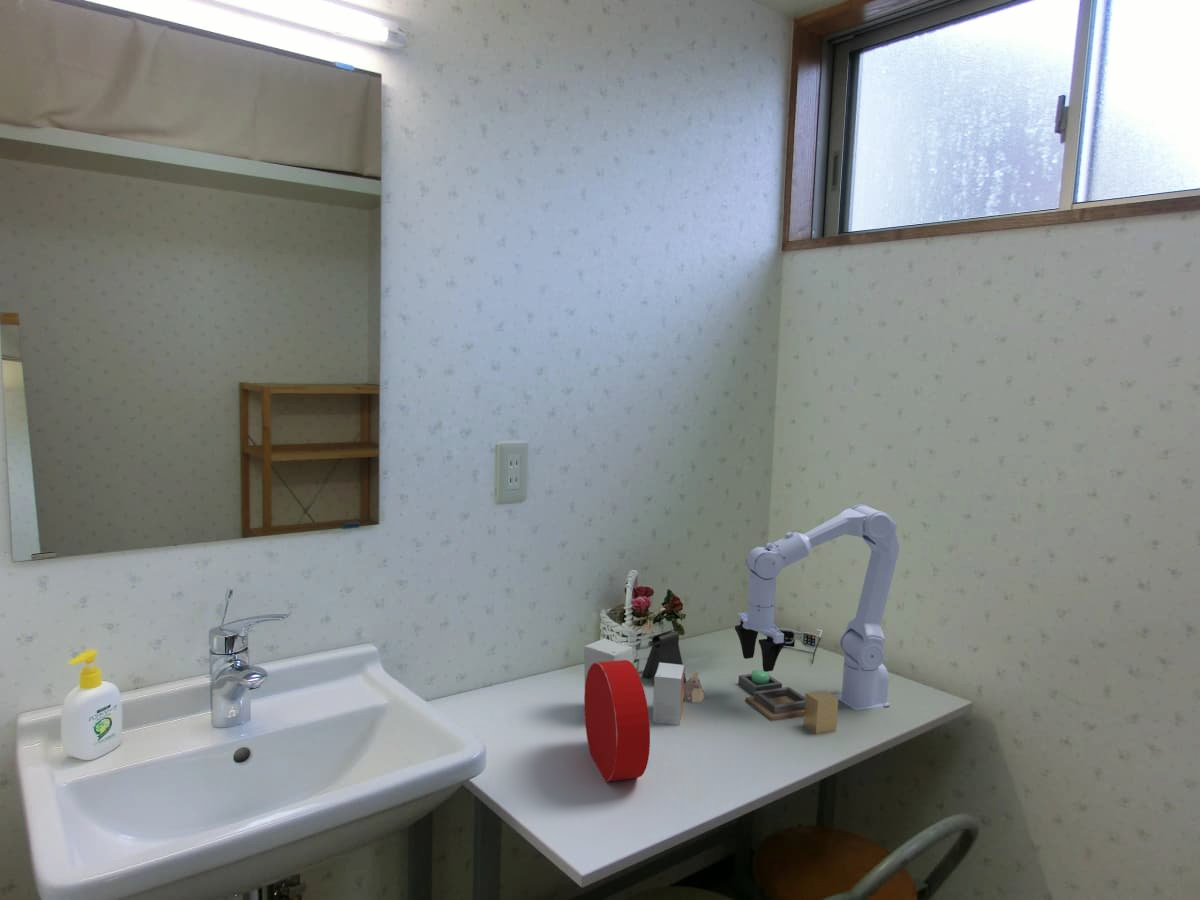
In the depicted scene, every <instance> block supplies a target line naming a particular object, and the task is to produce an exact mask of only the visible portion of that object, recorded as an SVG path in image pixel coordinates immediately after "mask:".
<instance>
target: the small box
mask: <svg viewBox="0 0 1200 900" xmlns="http://www.w3.org/2000/svg"><path fill="white" fill-rule="evenodd" d="M685 670H686V668H685V664H683V665H679V664H669V663H659V665H658V669H657V672H656V674H655V676H654V677H653V678H654V679H653V682H654V683H653V705H652V708H653V709H652V722H654V723H659V724H666V725H673V726H680V725H681V720H682V716H683V710H684V709H683V708H684V700H683V693H684V673H685Z"/></svg>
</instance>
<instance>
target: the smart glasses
mask: <svg viewBox="0 0 1200 900" xmlns="http://www.w3.org/2000/svg"><path fill="white" fill-rule="evenodd" d="M778 629H779V630H780V632H782V633H783V634H784V640H785V641H786V643H785V646H784V647H791V648H792V647H793V648H794V647H795V641H796V635H799V639H800V643H801V644H802V646H804V647H806V648H814V651H813V655H812V660H811V665H813V663H814V660H815V659H814V658H815V653H816V652H817V649H818V647H819V644H820V642H821V640H822V633H823V630H822V629H816V632H819V635H818V634H815V633H814V632H813V633H812V632H809V631H795V630H793V629H790V628H785V627H783V628H778ZM802 635H803V636H802ZM802 637H803V638H802ZM816 638H817V642H816Z"/></svg>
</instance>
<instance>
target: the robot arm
mask: <svg viewBox="0 0 1200 900" xmlns="http://www.w3.org/2000/svg"><path fill="white" fill-rule="evenodd" d="M896 531H897V523H896V522H895V521H894V519H893V518H892V517H891V516H890V515H889V514H888V513H886V512H884V511H880V510H877V509H875V508H872V507H870V506H869V505H866V504H862V503H861V504H856V505H853V506H852V507H851V508H850V507H849V508H846V509H844V510H843V511H842V512H840V513H839V514H838V515H836V516H834V517H833V518H831V519H829V520H827V521H825V522H823V523H822V524H819V525H818V526H816V527H814V528H813V529H810V530H809V531H807V532H805V533H800V532H798V531H795V532H791V531H788V532H786V533H785V534H784V535H785V536H784V537H782V538H780V539H778V540H776V541H774V542H772V543H771V542H767V543H765V546H757V547H755V548H753V549H752V550H750V553H748V554H747V557H746V558H745V564H746V567H747V568H748V570H749V574H748V575H749V576H748V590H747V607H746V608H747V611H746V612H740V613H737V622H738V623H739V625H735V626H734V631H736V634H737V637H738V638H739V642H740V646H741V651H742V656H743V658H744V659H745V660H747V659H753V658H754V655H755V651H756V642H757V638H758V635H759V633H760V634H761V635H763V636H765V637H766V638H762V639H758V644H759V646H760V649H761V656H762V659H761V660H762V670H763V671H765V672H768V673H769V672H772V671H774V669H775V665H776V663H777V660H778V657H779V655H780V653H781V651H782V650H783V649H784V647H786V646H785V643H786V641H785V640H784V634H783V633H782V632H780V630H779V629H780V628H778V626H777V625H776V624H775V623H774V622H775V605H776V585H777V583H776V582H777V581H776V580H777V579H776V578H777V577H778V575H780V573H781V571H782V570H783V569H784V568H786V567H788V566H790V565H792V564H794V563H796V562H798V561H801V560H803V559H805V558H807V557H808V556H810V553H811V550H812V548H815V547H817V546H820V545H822V544H825V543H827V542H830V541H832V540H835V539H837V538H839V537H842V536H843V535H847V536H848V535H849V536H854V537H859V538H860V537H861V538H862V539H863V540H864V541H865V543H866V544H867V546H868V547H869V549H870V551H871V552H870V555H869V560H868V565H867V568H866V572H865V576H864V581H863V585H862V589H861V594H860V597H859V602H858V606H857V610H856V614H855V617H854V618H853V619H852V620H850V621H849V622H848V623H847V627H846V630H845V631H844V632H843V633H842V635H841V636H840V639H839V646H840V649H841V650H842V652H843V653H844V659H843V671H842V672H843V673H842V688H841V689H842V690H841V693H837V694H833V695H834V696H836V697H838V701H841V702H842V703H844V704H845V705H847V706H849V707H850V708H852V709H854V710H855V711H860V710H865V709H871V708H878V707H883V708H886V707H890V705H891V703H889V702H888V697H889V696H888V695H889V679H890V677H889V676H890V675H889V672H888V669H887V667H886V665H885V664H884V663H883V662H884V660H885V657H886V652H885V648H884V647H885V640H886V639H885V638H886V637H885V635H884V632H883V629H882V627H881V626H882V621H883V617H884V614H885V609H886V605H887V601H888V596H889V593H890V589H891V585H892V581H893V577H894V572H895V569H896V564H897V562H898V561H897V560H898V557H899V556H898V555H899V552H900V545H899V544H900V543H899V539H898V536H897V532H896Z"/></svg>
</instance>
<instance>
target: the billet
mask: <svg viewBox="0 0 1200 900" xmlns="http://www.w3.org/2000/svg"><path fill="white" fill-rule="evenodd" d="M834 695H835V694H833V693H831V692H829V691H828V690H826V689H825V690H817V691H811V692H806V693H805V714H804V716H803V726H804V727H805V728H807V730H809V731H810V732H812V733H814V734H815V735H821V734H826V733H832V732H837V722H838V709H839V699H838V697H836V696H837V695H836V696H834Z"/></svg>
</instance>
